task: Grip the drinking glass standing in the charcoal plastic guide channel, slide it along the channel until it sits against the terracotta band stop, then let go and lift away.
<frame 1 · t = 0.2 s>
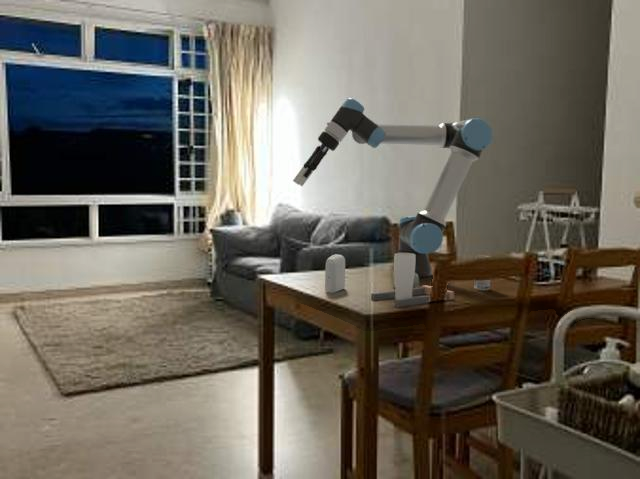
hand: (297, 183, 238), 36 cm above the table, tool tilted 35°, fingers open, 13 cm apart
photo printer: (334, 290, 224), on the table
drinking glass: (403, 300, 209), resting in guide channel
air freshener: (404, 288, 230), on the table
energy drink: (481, 289, 231), on the table
guide channel: (412, 299, 211), on the table
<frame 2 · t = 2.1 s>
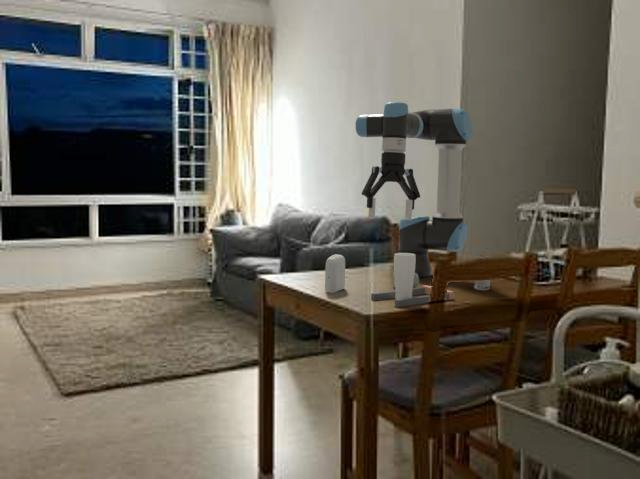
hand: (390, 219, 207), 26 cm above the table, tool pointing down, fingers open, 13 cm apart
nothing on the table moved.
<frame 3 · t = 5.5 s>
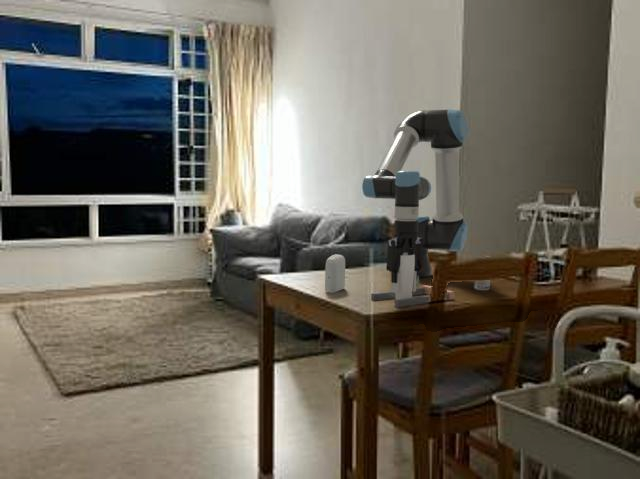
hand: (404, 291, 208), 3 cm above the table, tool pointing down, fingers closed on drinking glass, 6 cm apart
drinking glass: (403, 300, 209), resting in guide channel, touching gripper
everything else where it was.
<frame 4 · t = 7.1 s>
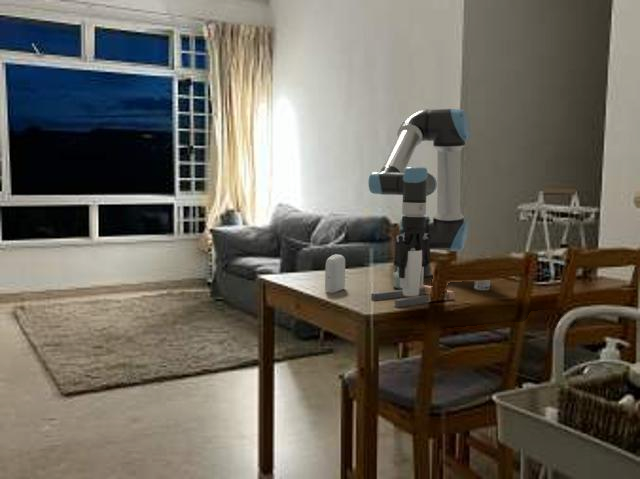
hand: (411, 286, 210), 4 cm above the table, tool pointing down, fingers closed on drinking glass, 6 cm apart
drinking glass: (410, 295, 211), point 1 cm above the table, touching gripper
everything else where it was.
when the fingers open (3 cm above the table, at t = 8.9 s): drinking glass moves 1 cm, resting in guide channel.
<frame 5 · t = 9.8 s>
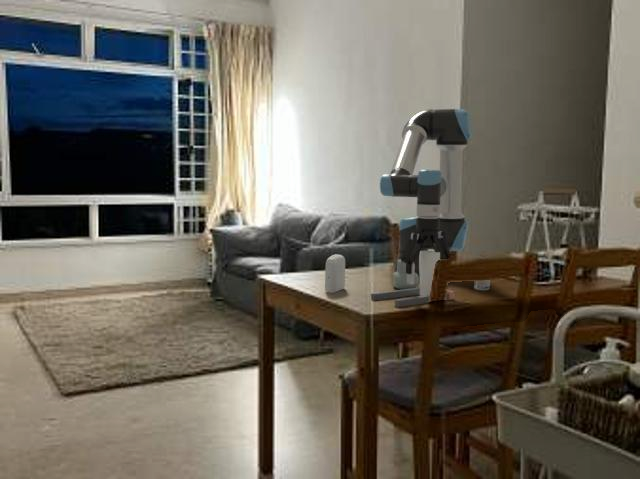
hand: (425, 282, 213), 5 cm above the table, tool pointing down, fingers open, 13 cm apart
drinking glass: (427, 297, 215), resting in guide channel
everything else where it was.
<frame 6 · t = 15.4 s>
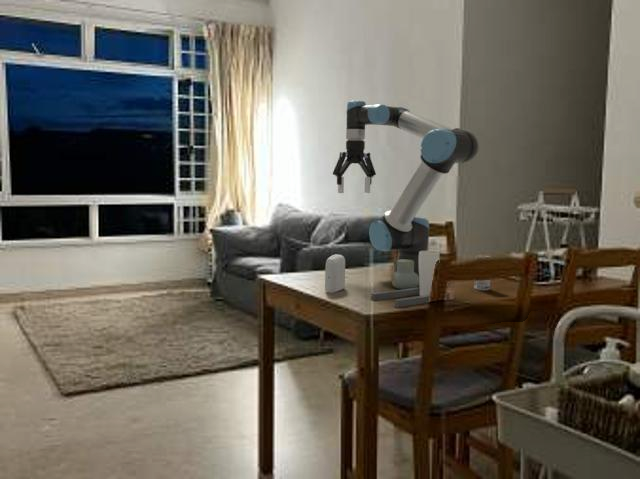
hand: (354, 193, 264), 32 cm above the table, tool pointing down, fingers open, 13 cm apart
nothing on the table moved.
at the end: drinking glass 2.1 cm from the target spot, resting in guide channel; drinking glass tilted 0°; the gripper is holding nothing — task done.
